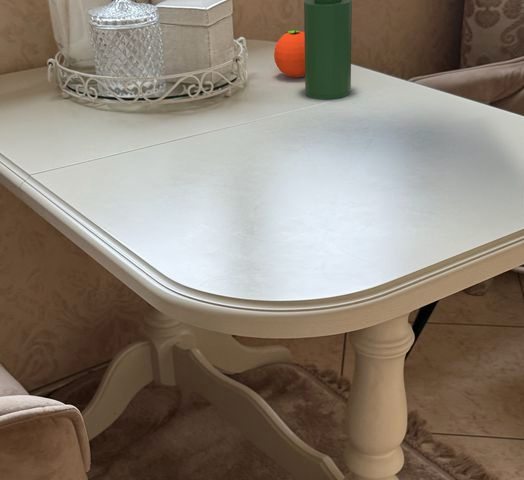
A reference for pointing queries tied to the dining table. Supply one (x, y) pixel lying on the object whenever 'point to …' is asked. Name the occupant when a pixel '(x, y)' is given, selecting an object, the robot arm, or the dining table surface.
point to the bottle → (327, 48)
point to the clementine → (291, 53)
